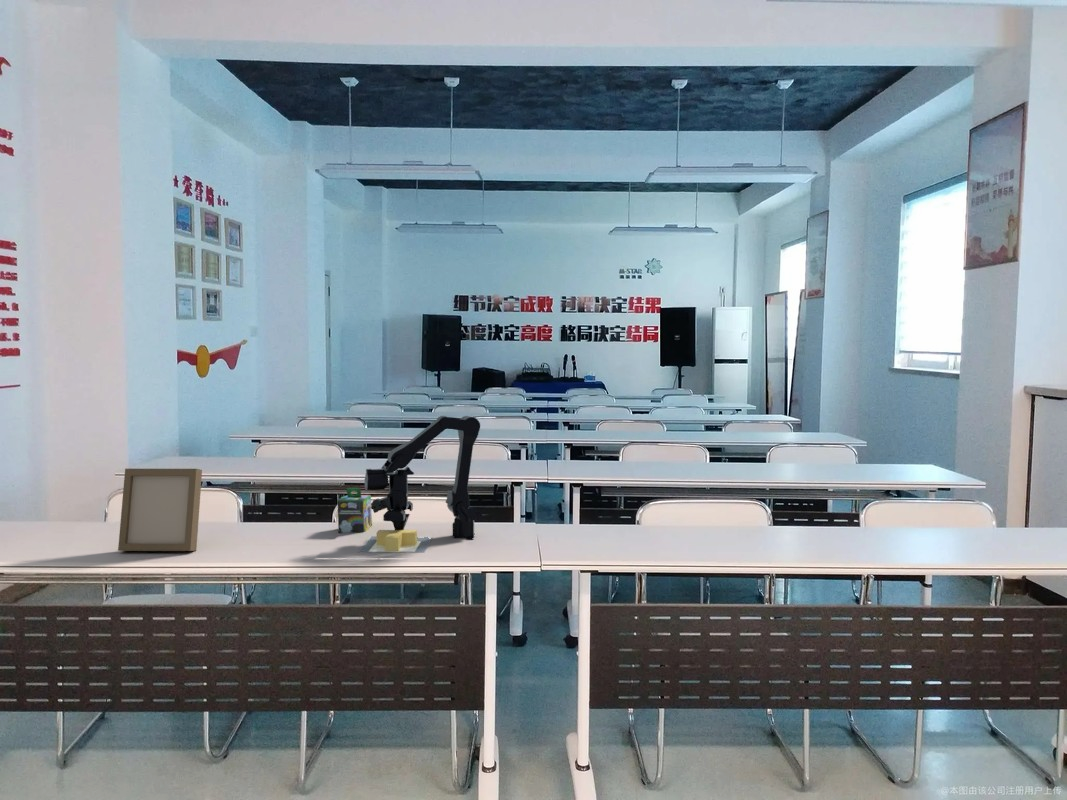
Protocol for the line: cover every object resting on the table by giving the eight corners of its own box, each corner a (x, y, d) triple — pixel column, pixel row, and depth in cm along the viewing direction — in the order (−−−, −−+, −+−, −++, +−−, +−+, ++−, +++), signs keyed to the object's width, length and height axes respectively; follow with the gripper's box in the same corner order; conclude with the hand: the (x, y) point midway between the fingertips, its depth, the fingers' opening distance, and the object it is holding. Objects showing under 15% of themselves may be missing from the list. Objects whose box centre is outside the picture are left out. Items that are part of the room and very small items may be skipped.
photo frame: (190, 554, 244) (188, 471, 242) (118, 554, 244) (115, 471, 242) (210, 542, 258) (208, 464, 257) (142, 542, 259) (140, 464, 257)
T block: (417, 542, 256) (417, 530, 256) (411, 551, 245) (411, 538, 245) (379, 542, 256) (379, 529, 256) (371, 551, 245) (371, 537, 245)
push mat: (433, 537, 264) (433, 536, 264) (424, 554, 243) (424, 552, 243) (372, 537, 265) (372, 536, 265) (357, 553, 244) (357, 552, 244)
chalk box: (372, 528, 280) (371, 485, 279) (364, 533, 271) (363, 489, 270) (346, 527, 281) (345, 484, 280) (337, 533, 271) (336, 489, 271)
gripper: (379, 483, 266) (379, 530, 267) (366, 494, 247) (367, 544, 249) (412, 484, 266) (413, 531, 267) (403, 494, 247) (403, 545, 248)
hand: (398, 537), depth 258 cm, fingers closed
